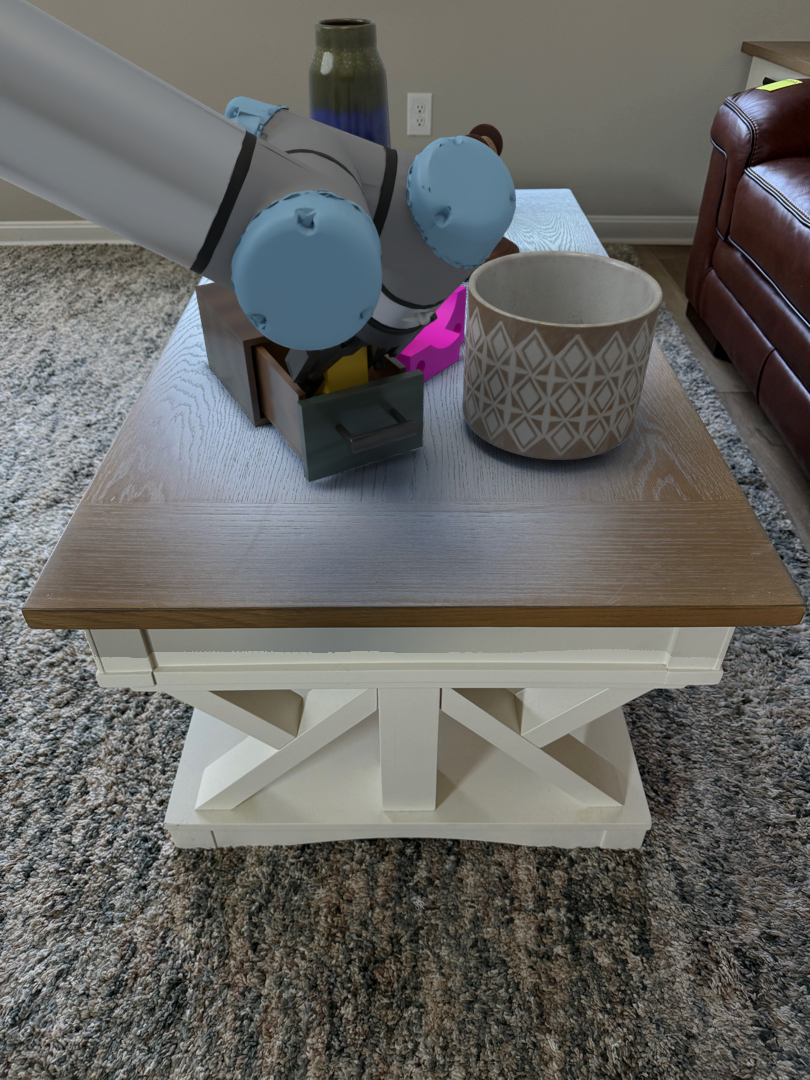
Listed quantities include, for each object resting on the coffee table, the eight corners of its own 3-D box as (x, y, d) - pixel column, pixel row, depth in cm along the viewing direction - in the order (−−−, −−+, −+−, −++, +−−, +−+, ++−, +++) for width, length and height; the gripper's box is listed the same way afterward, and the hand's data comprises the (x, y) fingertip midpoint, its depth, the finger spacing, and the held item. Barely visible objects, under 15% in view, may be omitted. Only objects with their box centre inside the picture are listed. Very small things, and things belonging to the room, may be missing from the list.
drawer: (444, 467, 82) (447, 392, 76) (326, 505, 77) (320, 428, 71) (359, 385, 95) (356, 316, 89) (254, 413, 90) (244, 342, 84)
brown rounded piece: (505, 288, 120) (516, 145, 107) (414, 275, 124) (414, 136, 111) (527, 254, 130) (541, 121, 117) (443, 244, 134) (447, 113, 121)
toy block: (410, 390, 96) (410, 333, 91) (371, 375, 99) (369, 318, 94) (479, 346, 105) (482, 292, 100) (441, 333, 108) (443, 280, 103)
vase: (302, 241, 135) (284, 26, 115) (331, 216, 145) (319, 14, 125) (379, 250, 132) (374, 30, 112) (403, 223, 142) (402, 17, 122)
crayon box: (332, 439, 83) (325, 343, 76) (313, 418, 86) (304, 324, 79) (370, 428, 85) (366, 333, 78) (350, 407, 88) (344, 314, 81)
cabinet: (369, 395, 95) (366, 312, 88) (255, 426, 89) (242, 340, 83) (313, 341, 106) (306, 263, 99) (208, 366, 101) (194, 286, 94)
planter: (666, 451, 85) (703, 307, 75) (507, 488, 80) (522, 339, 70) (576, 372, 99) (597, 241, 89) (435, 399, 94) (439, 263, 84)
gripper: (312, 355, 61) (261, 435, 83) (499, 309, 67) (406, 394, 89) (279, 265, 61) (236, 368, 83) (469, 227, 68) (383, 332, 89)
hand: (324, 381), depth 86 cm, fingers closed on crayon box, 4 cm apart
